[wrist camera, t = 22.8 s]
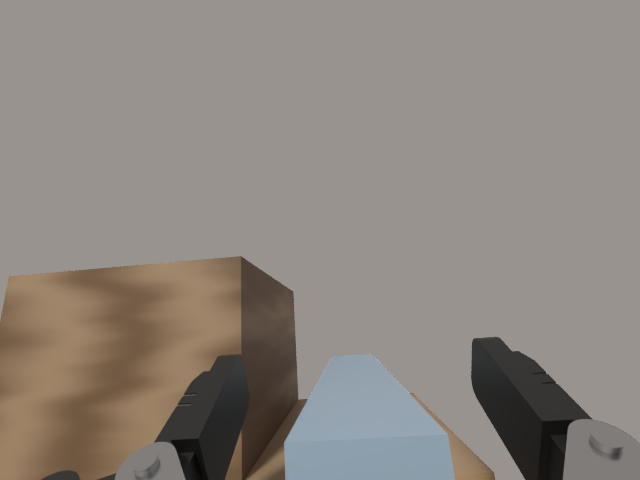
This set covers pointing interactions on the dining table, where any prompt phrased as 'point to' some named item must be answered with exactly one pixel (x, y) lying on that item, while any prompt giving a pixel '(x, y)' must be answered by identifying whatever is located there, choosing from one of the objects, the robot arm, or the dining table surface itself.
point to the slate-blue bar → (365, 429)
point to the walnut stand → (148, 365)
